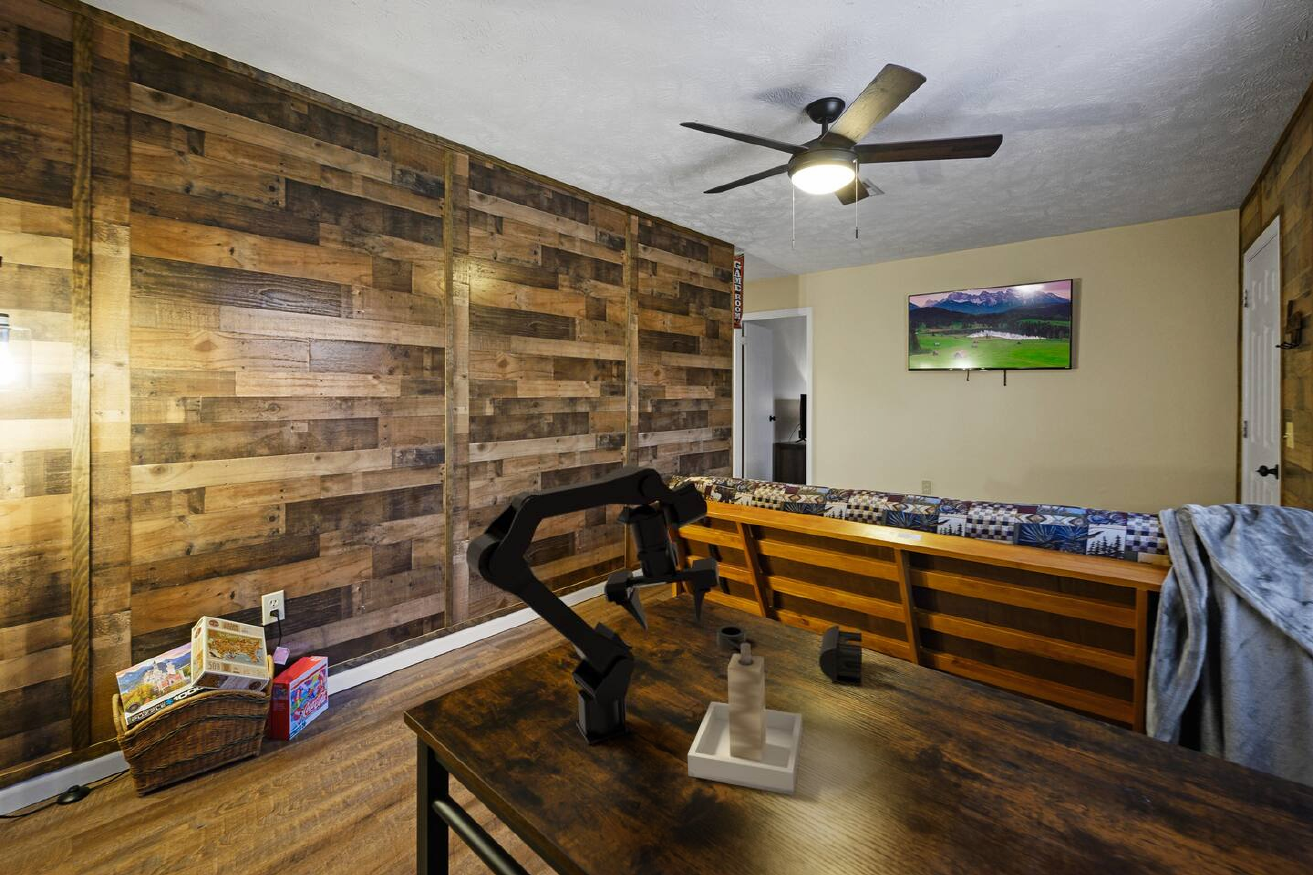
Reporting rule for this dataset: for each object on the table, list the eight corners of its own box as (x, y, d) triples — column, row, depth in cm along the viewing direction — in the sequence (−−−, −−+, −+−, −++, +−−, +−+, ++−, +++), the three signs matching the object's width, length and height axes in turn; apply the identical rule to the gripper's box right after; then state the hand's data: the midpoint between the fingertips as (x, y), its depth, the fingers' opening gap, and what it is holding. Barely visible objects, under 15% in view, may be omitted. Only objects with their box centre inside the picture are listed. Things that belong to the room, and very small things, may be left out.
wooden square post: (730, 755, 81) (727, 649, 80) (736, 737, 85) (733, 636, 84) (761, 761, 79) (758, 653, 78) (766, 742, 84) (763, 640, 82)
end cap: (823, 657, 111) (822, 623, 110) (862, 662, 108) (861, 627, 108) (818, 682, 102) (818, 645, 101) (861, 688, 99) (860, 650, 99)
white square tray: (688, 775, 78) (687, 754, 78) (711, 719, 91) (711, 701, 91) (793, 795, 73) (792, 773, 73) (802, 733, 87) (801, 714, 86)
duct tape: (709, 653, 115) (709, 639, 114) (716, 633, 124) (716, 620, 124) (748, 656, 113) (747, 642, 112) (752, 635, 122) (752, 622, 122)
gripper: (710, 513, 100) (727, 594, 103) (608, 530, 103) (627, 608, 106) (707, 538, 89) (727, 628, 92) (593, 556, 92) (616, 642, 95)
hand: (672, 625), depth 96 cm, fingers open, 9 cm apart
